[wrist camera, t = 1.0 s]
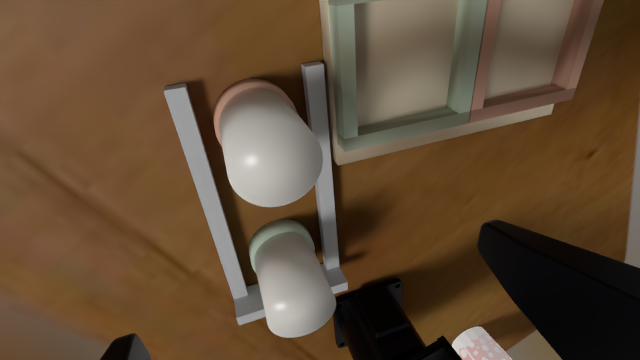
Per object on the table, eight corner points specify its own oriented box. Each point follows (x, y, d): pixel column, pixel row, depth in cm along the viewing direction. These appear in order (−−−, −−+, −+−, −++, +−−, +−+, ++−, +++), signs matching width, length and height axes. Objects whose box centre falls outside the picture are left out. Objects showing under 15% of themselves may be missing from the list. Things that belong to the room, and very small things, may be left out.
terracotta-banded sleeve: (297, 145, 20) (330, 196, 15) (224, 161, 19) (235, 221, 14) (287, 71, 18) (323, 104, 13) (203, 86, 17) (208, 126, 12)
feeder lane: (336, 266, 27) (347, 289, 25) (235, 298, 25) (238, 325, 23) (318, 61, 18) (334, 70, 16) (164, 86, 16) (160, 100, 14)
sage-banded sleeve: (312, 258, 25) (341, 324, 20) (255, 275, 24) (270, 349, 19) (306, 212, 23) (337, 274, 18) (242, 229, 22) (256, 299, 17)
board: (537, 109, 25) (566, 119, 23) (331, 157, 21) (345, 174, 19) (585, -74, 19) (630, -81, 17) (315, -51, 16) (332, -56, 14)
